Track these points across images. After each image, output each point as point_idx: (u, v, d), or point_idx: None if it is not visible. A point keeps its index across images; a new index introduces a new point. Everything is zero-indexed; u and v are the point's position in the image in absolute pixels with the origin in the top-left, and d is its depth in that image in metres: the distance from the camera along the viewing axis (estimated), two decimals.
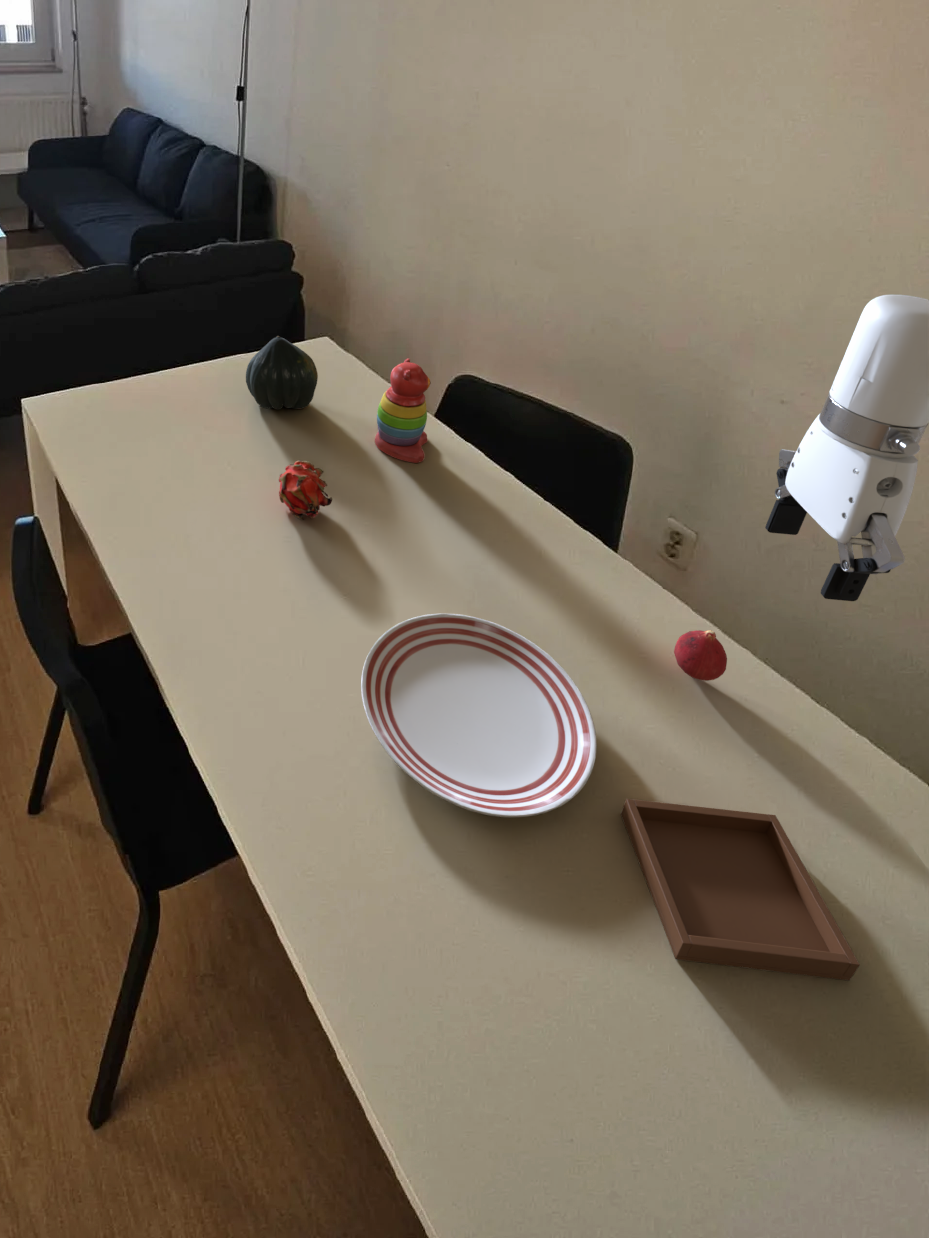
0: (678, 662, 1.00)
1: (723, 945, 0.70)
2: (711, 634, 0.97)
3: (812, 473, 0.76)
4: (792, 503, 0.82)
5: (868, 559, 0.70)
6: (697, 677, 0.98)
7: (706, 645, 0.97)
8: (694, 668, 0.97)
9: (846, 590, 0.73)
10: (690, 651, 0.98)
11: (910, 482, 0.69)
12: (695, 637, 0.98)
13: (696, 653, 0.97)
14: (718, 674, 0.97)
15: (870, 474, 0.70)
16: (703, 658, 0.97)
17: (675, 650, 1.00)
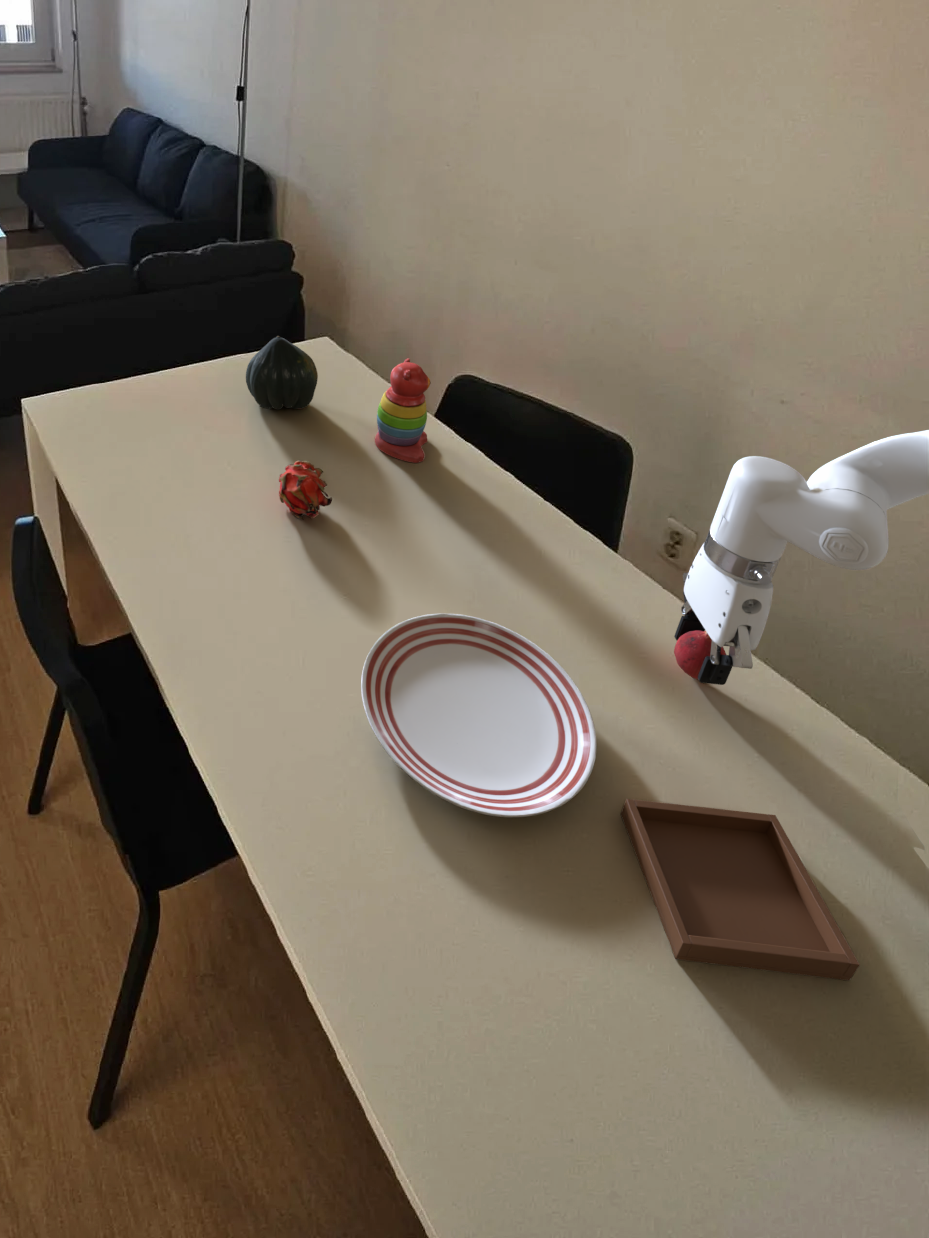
0: (678, 662, 1.00)
1: (723, 945, 0.70)
2: None
3: (700, 587, 0.96)
4: (694, 619, 1.01)
5: (727, 656, 0.92)
6: (697, 677, 0.98)
7: (706, 645, 0.97)
8: (694, 667, 0.97)
9: (715, 677, 0.95)
10: (690, 651, 0.98)
11: (767, 602, 0.89)
12: (695, 637, 0.98)
13: (696, 653, 0.97)
14: None
15: (736, 596, 0.90)
16: (703, 658, 0.97)
17: (675, 650, 1.00)
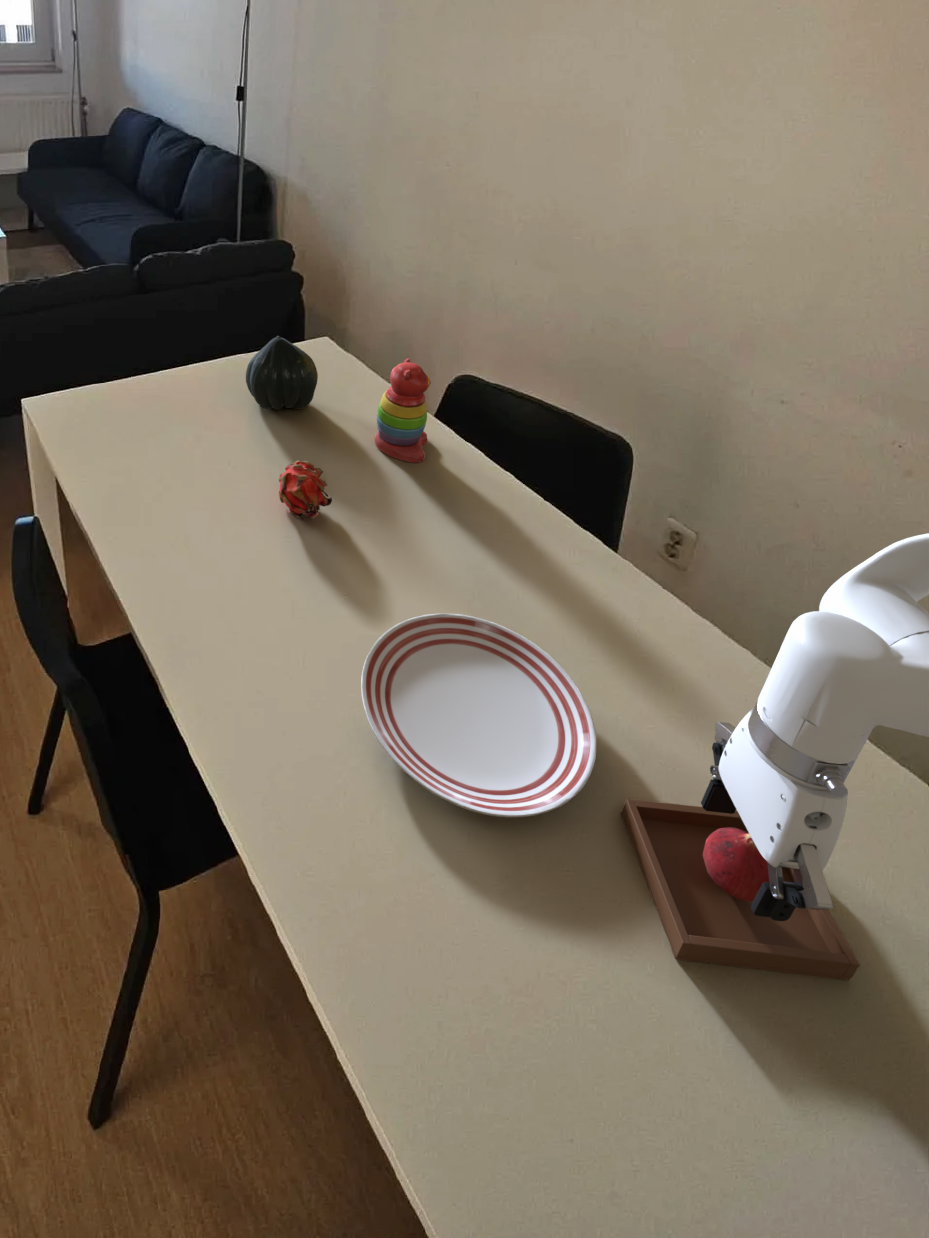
0: (709, 872, 0.75)
1: (723, 945, 0.70)
2: None
3: (742, 776, 0.72)
4: None
5: (796, 894, 0.66)
6: (735, 896, 0.74)
7: (747, 856, 0.73)
8: (731, 885, 0.73)
9: (776, 913, 0.69)
10: (725, 861, 0.74)
11: (839, 816, 0.65)
12: (732, 841, 0.74)
13: (733, 866, 0.73)
14: None
15: (797, 806, 0.65)
16: (743, 875, 0.72)
17: (704, 854, 0.76)
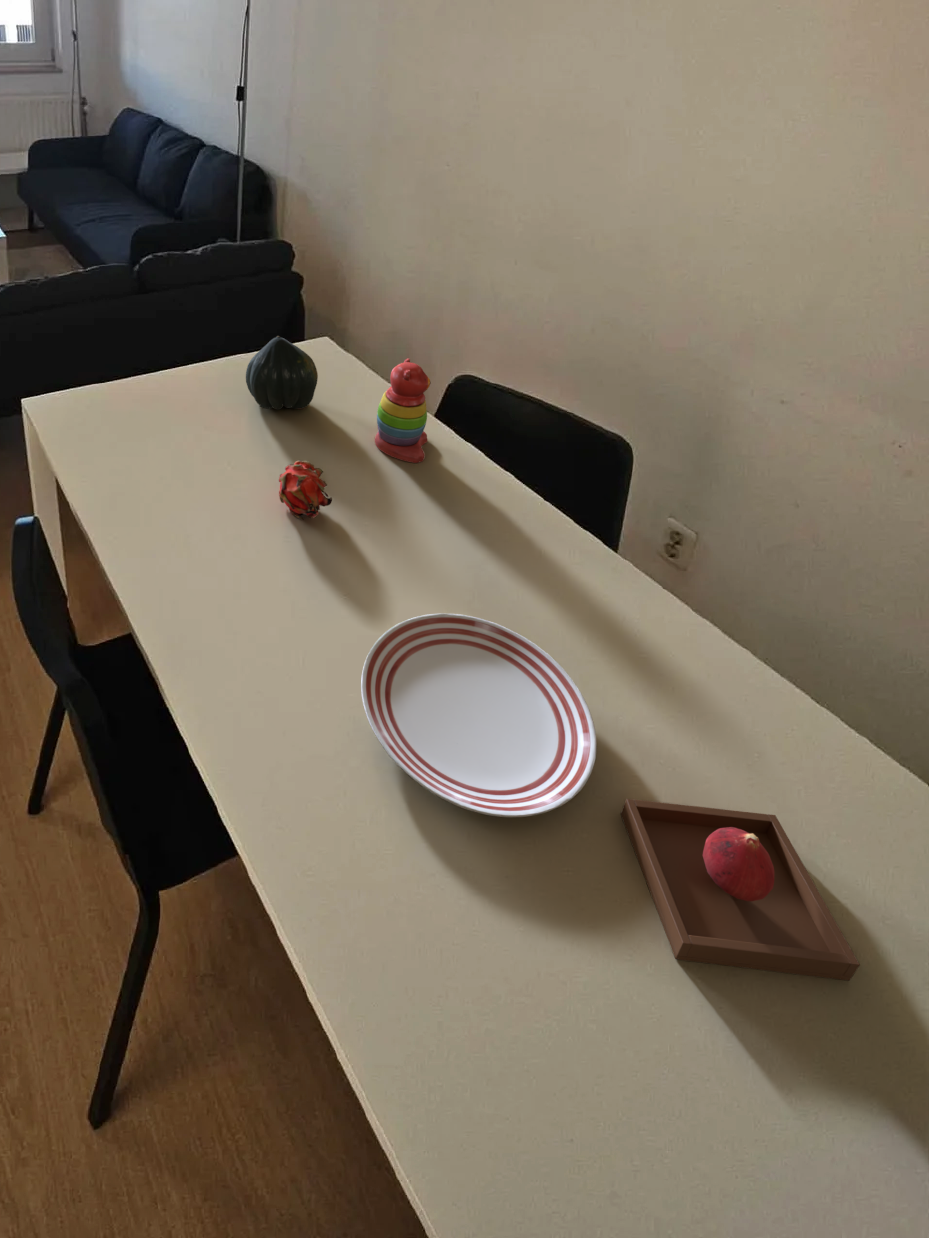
0: (709, 872, 0.75)
1: (723, 945, 0.70)
2: (754, 840, 0.73)
3: None
4: None
5: None
6: (735, 896, 0.74)
7: (747, 856, 0.73)
8: (731, 885, 0.73)
9: None
10: (725, 861, 0.74)
11: None
12: (732, 841, 0.74)
13: (733, 866, 0.73)
14: (763, 895, 0.73)
15: None
16: (743, 875, 0.72)
17: (704, 854, 0.76)
